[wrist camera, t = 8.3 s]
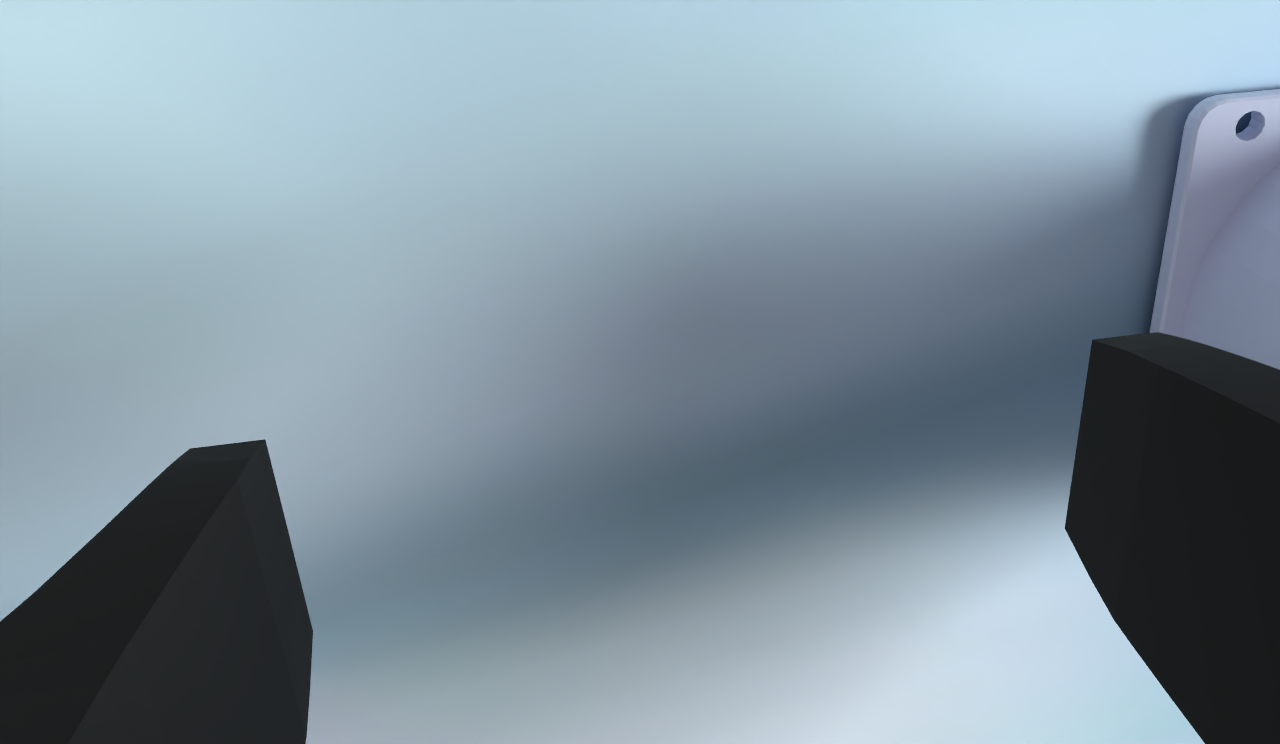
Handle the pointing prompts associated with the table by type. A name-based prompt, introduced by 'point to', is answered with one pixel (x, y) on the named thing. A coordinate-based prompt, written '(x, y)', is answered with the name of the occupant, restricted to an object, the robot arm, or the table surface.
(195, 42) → the table surface
